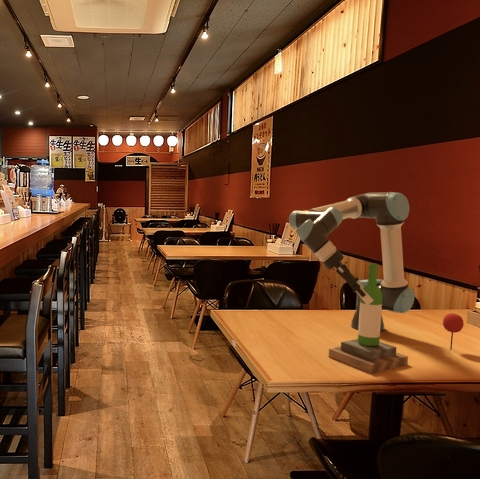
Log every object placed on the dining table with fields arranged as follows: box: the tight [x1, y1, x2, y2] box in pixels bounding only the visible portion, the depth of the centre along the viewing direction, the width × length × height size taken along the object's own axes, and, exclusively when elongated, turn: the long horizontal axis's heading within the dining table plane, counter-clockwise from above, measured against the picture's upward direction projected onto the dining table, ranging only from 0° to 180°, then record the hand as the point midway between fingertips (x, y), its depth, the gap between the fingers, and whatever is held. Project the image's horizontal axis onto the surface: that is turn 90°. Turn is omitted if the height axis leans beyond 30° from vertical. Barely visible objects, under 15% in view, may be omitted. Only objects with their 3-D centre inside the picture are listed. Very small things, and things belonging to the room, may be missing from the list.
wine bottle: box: [357, 262, 383, 347], centre depth 170 cm, size 8×8×30 cm
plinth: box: [328, 338, 409, 374], centre depth 171 cm, size 20×20×6 cm
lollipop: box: [442, 313, 465, 351], centre depth 190 cm, size 8×8×15 cm
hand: (368, 299), depth 170 cm, fingers open, 13 cm apart
